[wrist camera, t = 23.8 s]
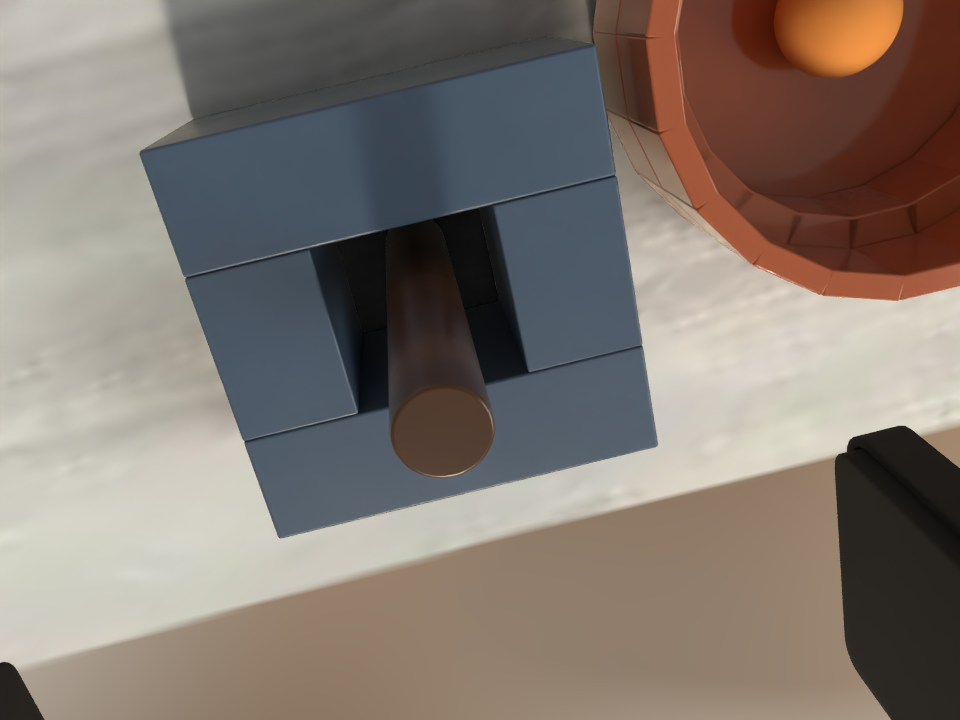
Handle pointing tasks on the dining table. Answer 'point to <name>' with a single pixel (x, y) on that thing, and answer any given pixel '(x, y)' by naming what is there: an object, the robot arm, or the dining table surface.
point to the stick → (432, 359)
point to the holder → (394, 203)
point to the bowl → (795, 141)
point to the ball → (835, 33)
